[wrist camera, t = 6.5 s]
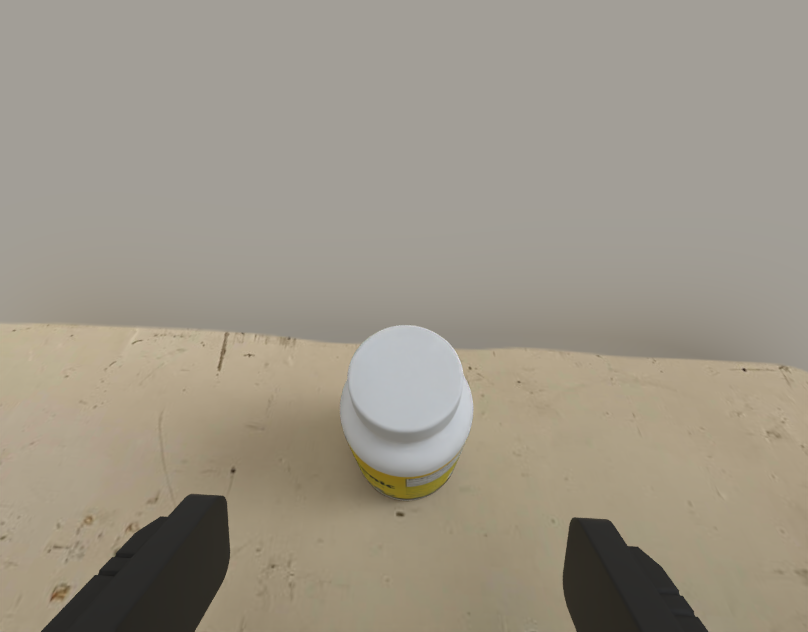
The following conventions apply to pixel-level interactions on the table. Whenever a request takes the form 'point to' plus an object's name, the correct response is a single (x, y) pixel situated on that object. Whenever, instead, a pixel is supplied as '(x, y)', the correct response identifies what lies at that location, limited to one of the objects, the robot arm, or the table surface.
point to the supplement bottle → (406, 411)
